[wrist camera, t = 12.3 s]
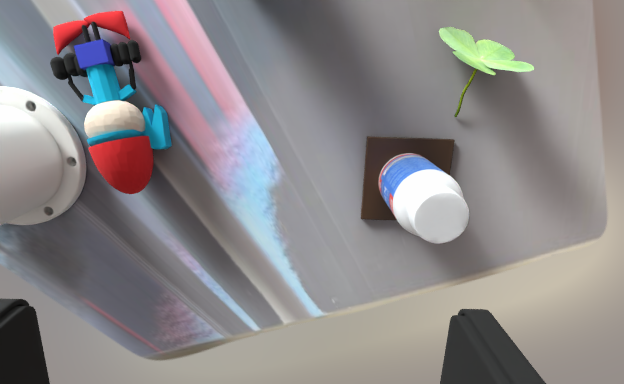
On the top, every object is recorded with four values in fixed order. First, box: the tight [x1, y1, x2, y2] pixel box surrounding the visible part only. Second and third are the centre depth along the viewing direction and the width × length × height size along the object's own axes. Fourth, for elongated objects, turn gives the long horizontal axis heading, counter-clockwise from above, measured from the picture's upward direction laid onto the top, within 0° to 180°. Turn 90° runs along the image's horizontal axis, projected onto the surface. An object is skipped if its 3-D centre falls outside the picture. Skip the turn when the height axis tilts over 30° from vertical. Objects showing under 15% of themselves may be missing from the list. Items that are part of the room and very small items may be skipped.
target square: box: [361, 137, 454, 220], centre depth 37 cm, size 8×8×1 cm
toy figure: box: [50, 11, 172, 194], centre depth 33 cm, size 8×5×15 cm
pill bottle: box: [379, 153, 469, 244], centre depth 32 cm, size 6×5×10 cm
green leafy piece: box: [439, 27, 534, 117], centre depth 33 cm, size 7×8×6 cm
